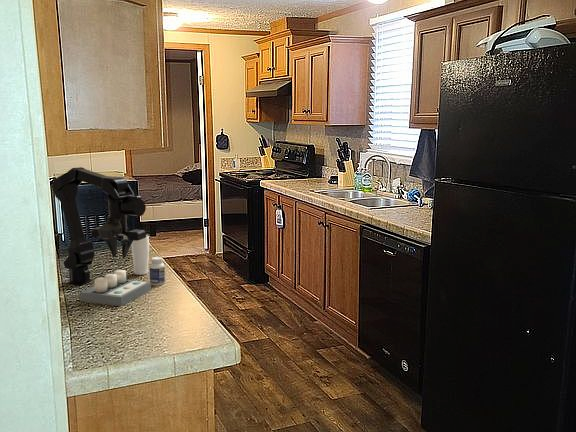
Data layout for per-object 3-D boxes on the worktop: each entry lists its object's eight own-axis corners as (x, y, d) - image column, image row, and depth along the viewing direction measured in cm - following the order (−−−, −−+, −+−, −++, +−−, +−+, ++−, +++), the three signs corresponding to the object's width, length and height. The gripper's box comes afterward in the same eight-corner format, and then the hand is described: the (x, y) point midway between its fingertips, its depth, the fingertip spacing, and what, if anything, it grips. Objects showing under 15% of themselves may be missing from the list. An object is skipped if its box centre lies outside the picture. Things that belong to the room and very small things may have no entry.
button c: (112, 282, 190) (111, 272, 189) (118, 279, 194) (118, 269, 193) (122, 283, 189) (121, 273, 188) (128, 280, 193) (128, 270, 192)
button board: (79, 301, 180) (79, 291, 179) (112, 286, 197) (111, 277, 196) (121, 306, 175) (121, 296, 175) (150, 290, 192) (150, 281, 192)
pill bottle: (161, 286, 197) (160, 260, 196) (147, 285, 198) (146, 259, 197) (167, 282, 203) (166, 256, 201) (153, 281, 204) (153, 256, 202)
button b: (102, 287, 185) (102, 276, 184) (109, 283, 189) (109, 273, 188) (112, 288, 184) (112, 277, 183) (119, 284, 187) (119, 274, 187)
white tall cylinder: (128, 274, 212) (127, 237, 209) (139, 270, 218) (138, 234, 215) (143, 276, 209) (141, 238, 207) (153, 272, 215) (152, 235, 213)
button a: (92, 291, 180) (91, 280, 179) (99, 288, 183) (99, 277, 183) (102, 292, 178) (102, 281, 178) (110, 289, 182) (109, 278, 182)
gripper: (79, 215, 182) (82, 260, 185) (128, 219, 177) (129, 265, 180) (100, 210, 193) (101, 253, 195) (146, 214, 188) (147, 257, 190)
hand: (119, 257), depth 190 cm, fingers open, 4 cm apart
